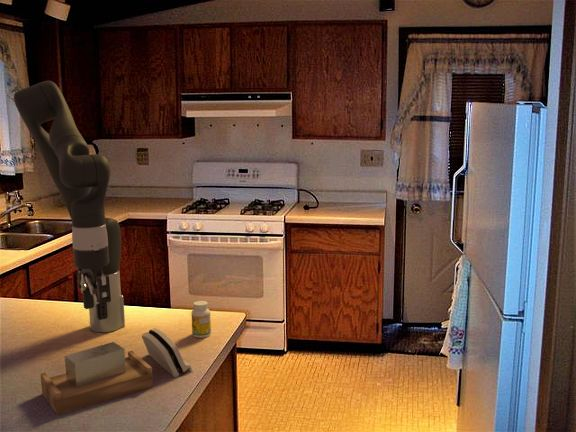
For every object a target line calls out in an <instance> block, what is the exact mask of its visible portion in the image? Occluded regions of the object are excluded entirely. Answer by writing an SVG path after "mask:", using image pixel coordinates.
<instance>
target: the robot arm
mask: <svg viewBox="0 0 576 432" xmlns="http://www.w3.org/2000/svg"><path fill="white" fill-rule="evenodd" d="M13 100H14V104H15V107H16V110H17V111H18V113H19V116H20V117H21V119H22V121H23V123H24V125H25V126H26V128H27V130H28V131H29V133H30V135H31V137H32V138H33V140H34V142H35V143H36V146H37V147H38V149H39V152H40V154H41V156H42V157H43V161H44V163H45V165H46V167H47V170H48V172H49V174H50V176H51V178H52V180H53V183H54V184H55V186H56V188H57V190H58V192H59V194H60V196H61V199H62V200H63V202H64V205H65V208H66V209H67V212H68V215H69V216H70V219H71V225H72V226H71V227H72V233H71V242H72V253H73V255H72V256H73V264H74V267H75V268H76V269H77V270H76V271H77V284H78V285H77V287H78V289H80V292H81V294H82V302H83V308H84V309H85V310H88V313H89V327H90V330H91V331H93V332H95V333H108V332H109V333H110V332H114V331H117V330H119V329H121V328H124V327H126V322H125V321H126V320H125V318H126V317H125V302H124V295H123V294H122V291H121V276H120V275H121V273H120V264H121V259H122V233H121V232H122V230H121V226H120V224H119V221H117V219H115V218H113V217H106V214H105V203H106V197H107V191H108V187H109V183H110V178H111V166H110V163H109V160H108V159H107V158H106V157H105V156H104V155H102V154H100V153H99V154H97V153H95V154H90V148H89V145H88V143H87V142H86V141H85V139H84V137H83V136H82V134H81V133H80V131H79V130H78V128H77V126H76V125H77V124H76V123H75V120H74V117H73V114H72V112H71V110H70V108H69V106H68V104H67V103H68V102H67V100H66V99H65V97H64V94H63V93H62V91H61V89H60V88H59V86H58V85H57V84H56V83H55V82H54V81H52V80H45V81H41V82H38V83H35V84H33V85H31V86H28V87H25V88H22V89H20V90H17V91H15V93H14V94H13ZM52 120H53V122H52V124H51V126H50V130H49V132H48V131H46V130H45V129H44V128H43V126H41V125H42V124H44V123H46V122H49V121H52Z"/></svg>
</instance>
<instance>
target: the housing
mask: <svg viewBox="0 0 576 432" xmlns="http://www.w3.org/2000/svg"><path fill="white" fill-rule="evenodd" d="M125 352H126V351H125V348H124V347H122V346H121V345H120V344H117V343H116V342H115V341H112V342H108V343H105V344H102V345H101V344H100V345H98V346H94V347H90V348H87V349H84V350H80V351H76V352H74V353H70V354H67V355H64V363H65V364H64V366H65V373H66V380H67V381H68V382H69V383H70V384H72V385H73V386H74V387H75V388H80V387H83V386H86V385H89V384H92V383H95V382H98V381H101V380H104V379H108V378H111V377H114V376H117V375H120V374H123V373H126V369H125V358H126V356H125V354H126V353H125Z"/></svg>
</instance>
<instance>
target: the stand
mask: <svg viewBox="0 0 576 432" xmlns="http://www.w3.org/2000/svg"><path fill="white" fill-rule="evenodd" d="M127 354H128V355H127V357H125V369H126V373H123V374H120V375H117V376H114V377H111V378H108V379H104V380H101V381H98V382H95V383H92V384H89V385H86V386H83V387H80V388H75V387H74V386H73V385H72V384H70V383H69V382H68V381H67V380H66V372H65V373H63V374H59V375H54V376H51V377H49V375H48V374H47V373H46V372H43V373H40V381H41V383H40V384H41V393H42V396H43V397H44V398H45V400H46V401H47V402H48V404H49V405H50V407H51V408H52V410H53V411H54V413H55V414H56V415H57V416H60V415H63V414H67V413H70V412H73V411H74V412H75V411H76V410H80V409H84V408H87V407H90V406H93V405H97V404H101V403H104V402H108V401H111V400H113V399H118V398H120V397H121V398H122V397H124V396H127V395H128V396H129V395H130V394H133V393H137V392H141V391H143V390H144V391H145V390H147V389H151V388H153V387H154V384H153V367H152V366H151V365H150V364H148V363H147V362H146V361H145V360H144V359H142V358H141V357H140V356H139V355H138V354H136V353H135V352H134V351H133V350H129V351H127Z"/></svg>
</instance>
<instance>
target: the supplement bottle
mask: <svg viewBox="0 0 576 432" xmlns="http://www.w3.org/2000/svg"><path fill="white" fill-rule="evenodd" d="M208 306H209V303H208V301H206V300H197V301H194V302H193V310H192V311H191V334H192V337H194V338H199V339H204V338H207V337H209V336H210V335H211V333H212V326H211V325H212V322H211V321H212V320H211V310H210V309H209V307H208Z"/></svg>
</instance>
